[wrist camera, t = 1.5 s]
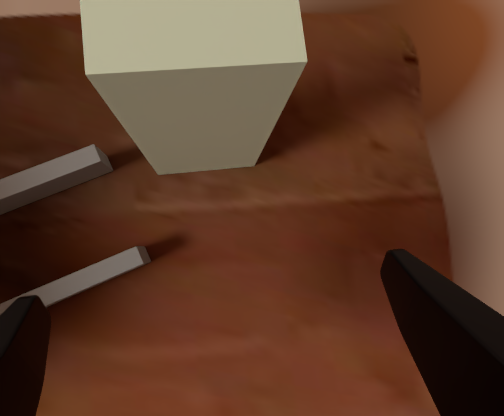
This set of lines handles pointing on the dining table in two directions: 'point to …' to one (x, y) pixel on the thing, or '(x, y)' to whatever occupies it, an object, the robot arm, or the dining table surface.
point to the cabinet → (53, 181)
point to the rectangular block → (194, 75)
